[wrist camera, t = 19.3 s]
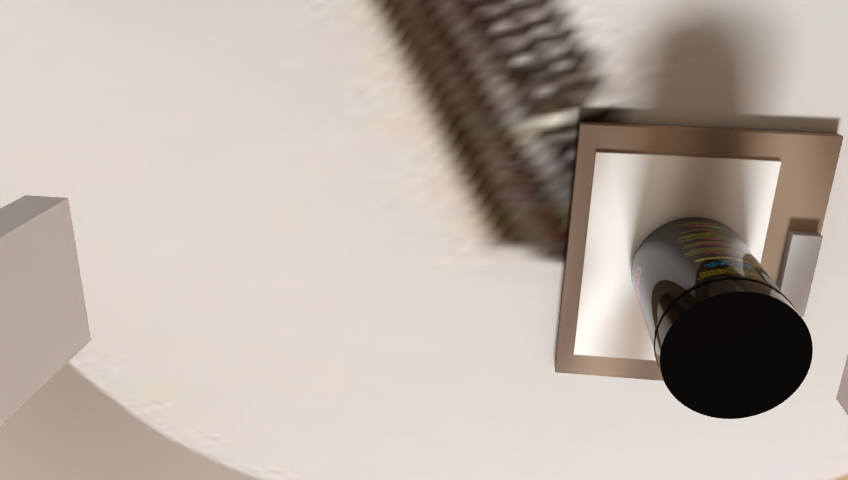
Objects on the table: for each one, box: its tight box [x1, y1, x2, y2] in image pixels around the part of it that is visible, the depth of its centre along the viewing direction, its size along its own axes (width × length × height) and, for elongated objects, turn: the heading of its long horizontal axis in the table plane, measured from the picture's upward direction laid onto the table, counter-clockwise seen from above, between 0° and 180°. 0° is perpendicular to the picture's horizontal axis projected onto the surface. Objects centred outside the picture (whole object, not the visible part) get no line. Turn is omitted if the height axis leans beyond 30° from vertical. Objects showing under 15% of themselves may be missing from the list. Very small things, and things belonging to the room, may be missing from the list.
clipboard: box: [555, 121, 843, 381], centre depth 44 cm, size 14×16×2 cm
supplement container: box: [631, 217, 813, 419], centre depth 39 cm, size 7×7×10 cm
